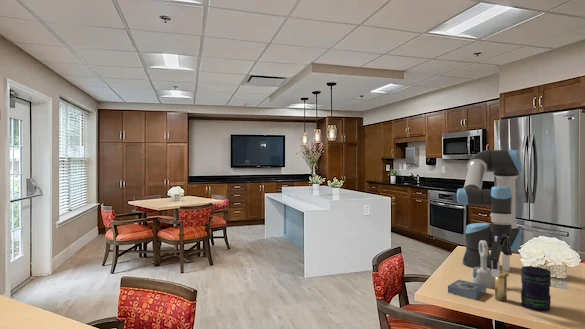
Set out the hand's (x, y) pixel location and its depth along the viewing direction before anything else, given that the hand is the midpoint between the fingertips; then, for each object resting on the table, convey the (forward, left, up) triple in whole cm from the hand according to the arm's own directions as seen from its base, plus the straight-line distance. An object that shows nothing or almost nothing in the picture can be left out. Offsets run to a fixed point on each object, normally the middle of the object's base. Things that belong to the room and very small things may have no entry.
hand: (500, 273), depth 150 cm
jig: (+2, -13, -11) cm, 17 cm away
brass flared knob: (0, 0, -11) cm, 11 cm away
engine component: (-16, -12, -12) cm, 23 cm away
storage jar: (-2, +12, -12) cm, 17 cm away
